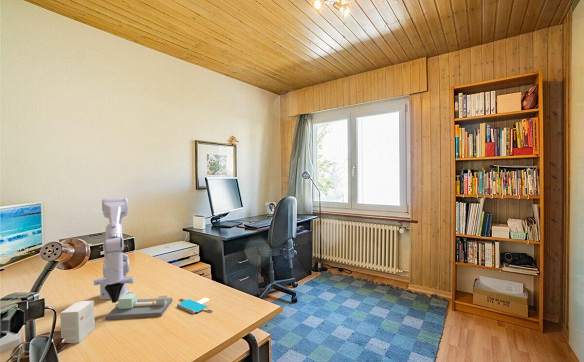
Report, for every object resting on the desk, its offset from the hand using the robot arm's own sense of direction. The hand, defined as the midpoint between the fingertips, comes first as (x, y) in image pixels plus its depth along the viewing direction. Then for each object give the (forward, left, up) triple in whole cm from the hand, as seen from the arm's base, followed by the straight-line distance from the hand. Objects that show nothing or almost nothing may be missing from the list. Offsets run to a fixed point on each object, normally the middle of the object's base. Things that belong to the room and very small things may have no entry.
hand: (115, 301), depth 105 cm
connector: (+18, 0, -2) cm, 18 cm away
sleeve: (+5, 0, -2) cm, 5 cm away
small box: (-3, -16, -4) cm, 17 cm away
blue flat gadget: (+31, +2, -5) cm, 31 cm away
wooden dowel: (+10, 0, -3) cm, 10 cm away
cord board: (+10, 0, -4) cm, 11 cm away
